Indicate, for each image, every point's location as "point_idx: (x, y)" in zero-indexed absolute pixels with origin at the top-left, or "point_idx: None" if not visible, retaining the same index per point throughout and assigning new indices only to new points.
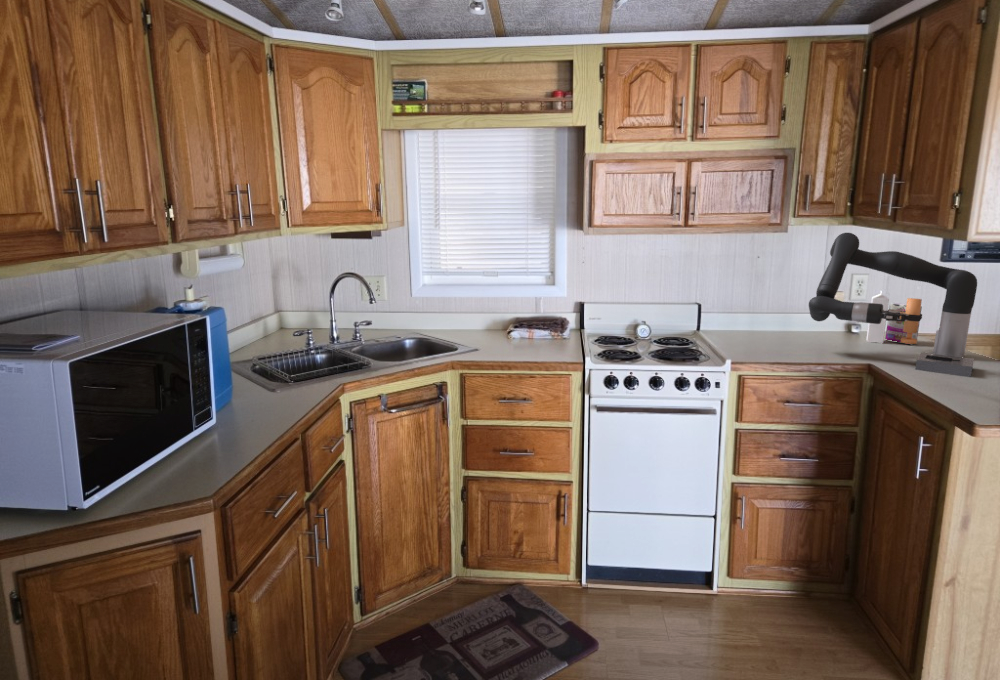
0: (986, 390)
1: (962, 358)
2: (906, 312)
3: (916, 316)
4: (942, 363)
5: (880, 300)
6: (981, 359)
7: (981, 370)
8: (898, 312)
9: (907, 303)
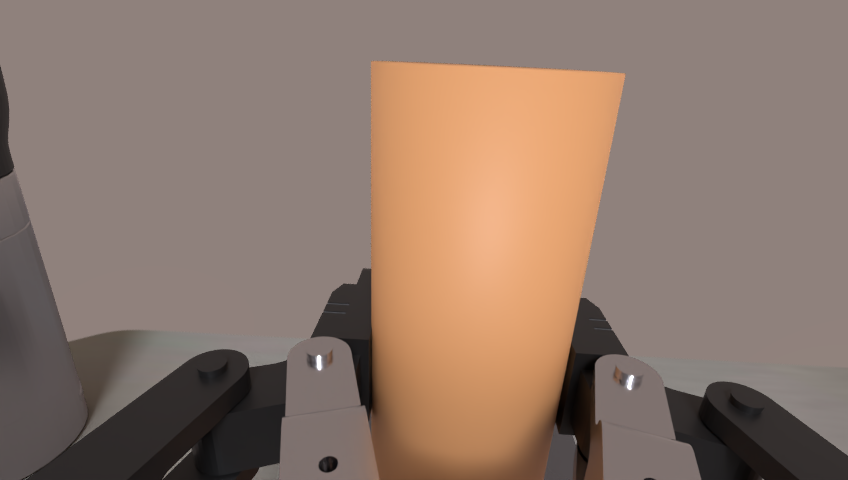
0: (737, 370)
1: None
2: (547, 356)
3: (588, 309)
4: (575, 446)
5: None
6: (93, 348)
7: None
8: (695, 473)
9: (572, 186)
